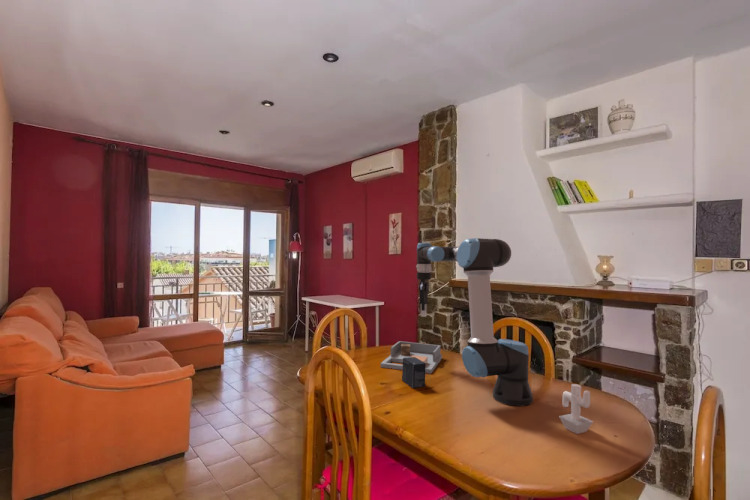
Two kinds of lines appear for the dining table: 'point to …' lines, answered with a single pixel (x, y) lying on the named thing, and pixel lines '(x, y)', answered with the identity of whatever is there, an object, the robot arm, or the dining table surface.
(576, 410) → the figurine
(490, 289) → the robot arm
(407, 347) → the walnut block
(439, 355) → the cubby deck
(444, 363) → the dining table surface
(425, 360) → the terracotta tile
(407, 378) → the box
